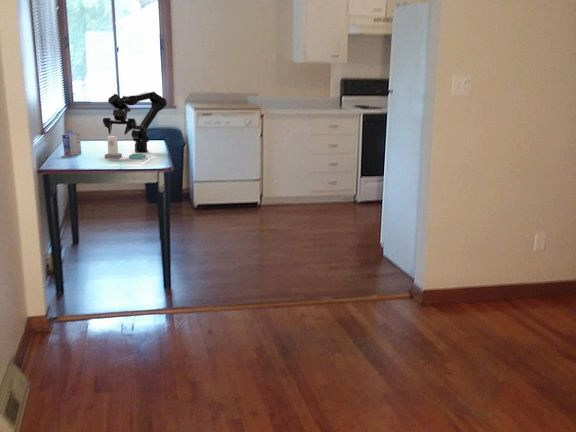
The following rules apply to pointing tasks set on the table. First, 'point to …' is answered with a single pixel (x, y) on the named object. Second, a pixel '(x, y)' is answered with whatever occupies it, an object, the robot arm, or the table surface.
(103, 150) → the table surface
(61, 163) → the table surface
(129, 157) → the socket board
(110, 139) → the plug
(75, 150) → the ink cartridge box
